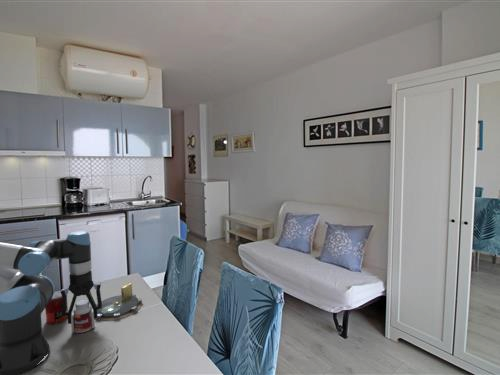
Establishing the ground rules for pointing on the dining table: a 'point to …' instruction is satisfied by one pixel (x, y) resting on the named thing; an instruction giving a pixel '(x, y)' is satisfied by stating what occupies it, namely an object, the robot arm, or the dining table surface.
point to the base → (121, 315)
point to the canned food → (55, 309)
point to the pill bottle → (82, 316)
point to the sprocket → (119, 304)
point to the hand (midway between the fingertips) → (83, 328)
